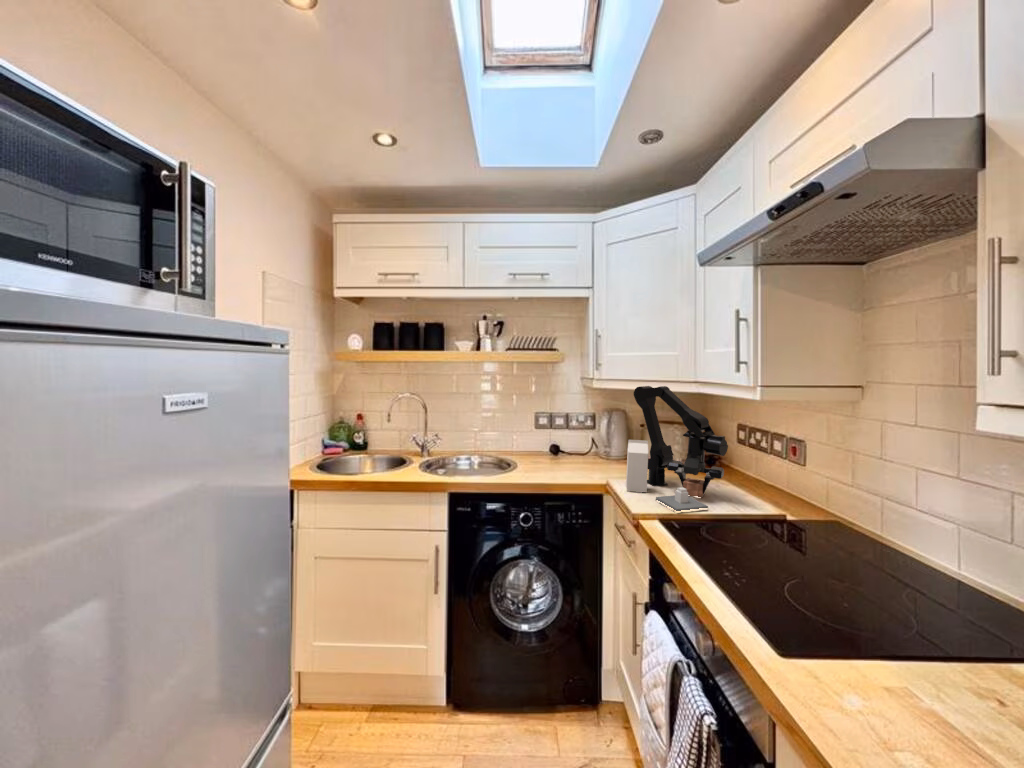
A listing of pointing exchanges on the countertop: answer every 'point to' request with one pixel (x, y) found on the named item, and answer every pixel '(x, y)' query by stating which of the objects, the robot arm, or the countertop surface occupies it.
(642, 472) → the milk carton
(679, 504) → the key base
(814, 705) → the countertop surface
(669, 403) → the robot arm
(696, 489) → the collar
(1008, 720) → the countertop surface
